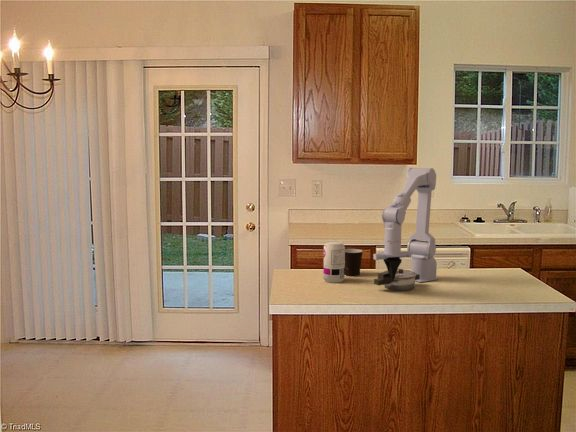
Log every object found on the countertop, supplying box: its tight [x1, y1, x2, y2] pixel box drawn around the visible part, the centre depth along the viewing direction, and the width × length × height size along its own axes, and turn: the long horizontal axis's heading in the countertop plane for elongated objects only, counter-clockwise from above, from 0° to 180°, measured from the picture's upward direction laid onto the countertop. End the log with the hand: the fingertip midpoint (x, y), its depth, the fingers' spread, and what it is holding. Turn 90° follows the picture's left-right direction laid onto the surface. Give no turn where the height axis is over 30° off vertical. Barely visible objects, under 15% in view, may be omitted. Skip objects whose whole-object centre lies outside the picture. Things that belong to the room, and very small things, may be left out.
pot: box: [373, 274, 420, 292], centre depth 197 cm, size 19×11×4 cm, turn 119°
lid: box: [377, 268, 416, 280], centre depth 195 cm, size 17×12×2 cm
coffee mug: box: [344, 248, 364, 277], centre depth 218 cm, size 12×9×10 cm
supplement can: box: [322, 240, 346, 284], centre depth 206 cm, size 8×8×15 cm
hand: (391, 278), depth 190 cm, fingers closed
